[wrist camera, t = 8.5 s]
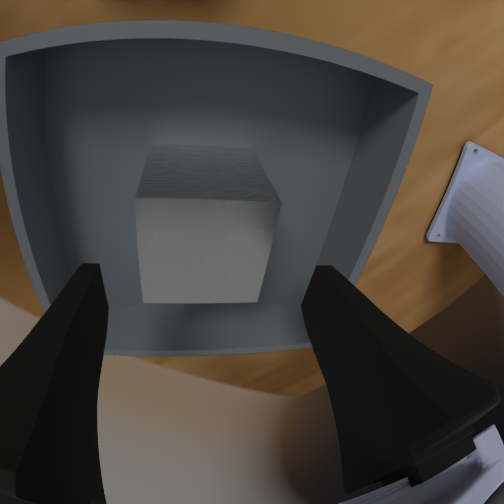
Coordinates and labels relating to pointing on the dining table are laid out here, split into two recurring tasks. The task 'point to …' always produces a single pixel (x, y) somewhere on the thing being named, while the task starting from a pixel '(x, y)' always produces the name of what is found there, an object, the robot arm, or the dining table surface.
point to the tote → (206, 134)
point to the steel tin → (204, 224)
